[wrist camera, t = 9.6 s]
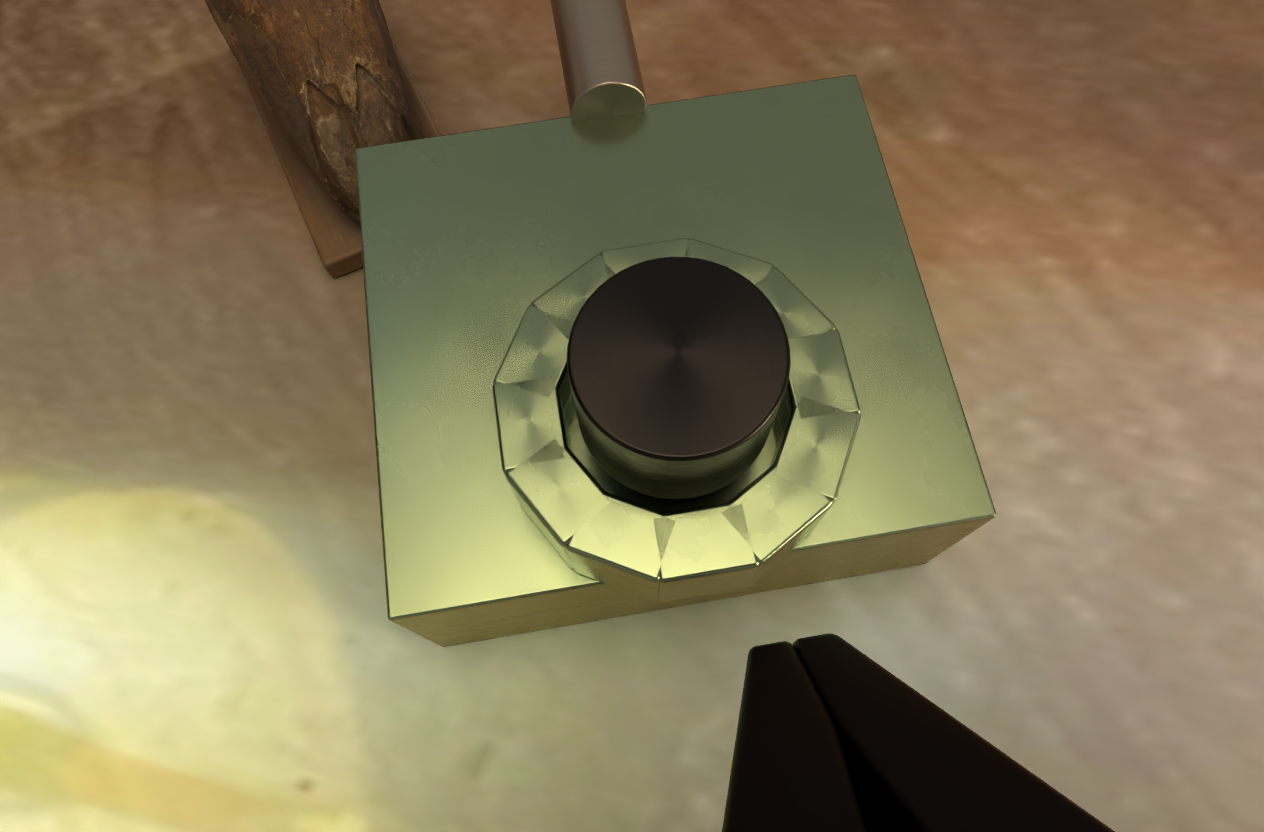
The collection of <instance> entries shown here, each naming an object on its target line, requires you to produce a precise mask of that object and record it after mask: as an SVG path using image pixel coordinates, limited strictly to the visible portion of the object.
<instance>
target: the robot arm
mask: <svg viewBox="0 0 1264 832" xmlns="http://www.w3.org/2000/svg"><path fill="white" fill-rule="evenodd" d="M722 832H1115V831H1113V830H1112V829H1111V828H1109V827H1108V826H1106V825H1105V824H1103V823H1102V822H1101V821H1099V820H1098V819H1096V818H1095V817H1094V816H1092V815H1091V814H1089V813H1088V812H1086V811H1085V810H1084V809H1082V808H1081V807H1079V806H1078V805H1077V804H1075V803H1074V802H1072V801H1071V800H1069V799H1068V798H1067V797H1065V796H1064V795H1062V794H1061V793H1060V792H1058V791H1057V790H1055V789H1054V788H1053V787H1051V786H1050V785H1048V784H1047V783H1045V782H1044V781H1043V780H1041V779H1040V778H1038V777H1037V776H1036V775H1034V774H1033V773H1031V772H1030V771H1028V770H1027V769H1026V768H1024V767H1023V766H1021V765H1020V764H1019V763H1017V762H1016V761H1014V760H1013V759H1011V758H1010V757H1009V756H1007V755H1006V754H1004V753H1003V752H1002V751H1000V750H999V749H997V748H996V747H995V746H993V745H992V744H990V743H989V742H987V741H986V740H985V739H983V738H982V737H980V736H979V735H978V734H976V733H975V732H973V731H972V730H970V729H969V728H968V727H966V726H965V725H963V724H962V723H961V722H959V721H958V720H956V719H955V718H954V717H952V716H951V715H949V714H948V713H946V712H945V711H944V710H942V709H941V708H939V707H938V706H937V705H935V704H934V703H932V702H931V701H929V700H928V699H927V698H925V697H924V696H922V695H921V694H920V693H918V692H917V691H915V690H914V689H912V688H911V687H910V686H908V685H907V684H905V683H904V682H903V681H901V680H900V679H898V678H897V677H896V676H894V675H893V674H891V673H890V672H888V671H887V670H886V669H884V668H883V667H881V666H880V665H879V664H877V663H876V662H874V661H873V660H871V659H870V658H869V657H867V656H866V655H864V654H863V653H862V652H860V651H859V650H857V649H856V648H854V647H853V646H852V645H850V644H849V643H847V642H846V641H845V640H843V639H842V638H840V637H839V636H837V635H834V634H823V635H817V636H811V637H806V638H800V639H797V640H796V641H795V642H794V643H793V645H792V644H791V643H789V642H786V641H783V642H777V643H771V644H766V645H760V646H755V647H753V648H752V649H750V651H749V654H748V661H747V667H746V674H745V681H744V688H743V694H742V701H741V708H740V714H739V721H738V728H737V734H736V741H735V748H734V755H733V761H732V768H731V775H730V781H729V788H728V795H727V801H726V808H725V815H724V822H723V828H722Z"/></svg>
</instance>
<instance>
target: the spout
mask: <svg viewBox="0 0 1264 832" xmlns="http://www.w3.org/2000/svg"><path fill="white" fill-rule="evenodd" d="M551 6H552V11H553V17H554V23H555V29H556V34H557V40H558V46H559V51H560V57H561V63H562V68H563V74H564V80H565V85H566V91H567V97H568V103H569V108H570V114H571V118H572V120H573V121H574V122H576V121H583V120H590V119H596V118H603V117H610V116H617V115H623V114H630V113H637V112H644V111H645V110H646V107H647V100H646V95H645V91H644V86H643V81H642V77H641V72H640V67H639V63H638V58H637V53H636V49H635V44H634V39H633V35H632V30H631V25H630V20H629V16H628V11H627V6H626V2H625V0H551Z"/></svg>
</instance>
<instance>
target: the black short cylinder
mask: <svg viewBox="0 0 1264 832" xmlns="http://www.w3.org/2000/svg"><path fill="white" fill-rule="evenodd" d="M790 365H791V359H790V346H789V341H788V336H787V333H786V330H785V327H784V324H783V322H782V320H781V318H780V316H779V314H778V312H777V311H776V309H775V308H774V306H773V305H772V303H771V302H770V300H769V299H768V298H767V297H766V296H765V295H764V293H763V292H762V291H761V290H760V289H759V288H758V287H757V286H755V285H754V284H753V283H752V282H751V281H750V280H748V279H747V278H745V277H744V276H742V275H741V274H739V273H738V272H736V271H734V270H732V269H730V268H728V267H726V266H723V265H720V264H718V263H715V262H712V261H708V260H704V259H699V258H692V257H663V258H656V259H652V260H647V261H643V262H641V263H638V264H635V265H632V266H630V267H628V268H626V269H624V270H622V271H620V272H618V273H617V274H615V275H613V276H612V277H610V278H609V279H608V280H606V281H605V282H604V283H603V284H602V285H600V286H599V287H598V288H597V289H596V290H595V291H594V292H593V293H592V294H591V295H590V297H589V298H588V299H587V300H586V302H585V303H584V305H583V306H582V308H581V309H580V311H579V313H578V315H577V317H576V319H575V321H574V323H573V326H572V329H571V332H570V336H569V341H568V345H567V370H568V376H569V381H570V386H571V390H572V395H573V400H574V404H575V409H576V414H577V419H578V423H579V427H580V432H581V434H582V437H583V440H584V442H585V444H586V446H587V448H588V450H589V452H590V454H591V455H592V456H593V458H594V459H595V460H596V462H597V463H598V464H599V465H600V466H601V467H602V468H603V469H604V471H605V472H606V473H607V474H609V475H610V476H611V477H613V478H614V479H615V480H616V481H618V482H619V483H621V484H623V485H625V486H626V487H628V488H630V489H632V490H635V491H637V492H639V493H642V494H646V495H649V496H653V497H658V498H665V499H685V498H694V497H698V496H702V495H706V494H709V493H712V492H714V491H717V490H719V489H721V488H723V487H725V486H727V485H729V484H730V483H732V482H733V481H735V480H736V479H737V478H739V477H740V476H741V475H742V474H743V473H744V472H745V471H746V470H747V469H749V468H750V466H751V465H752V464H753V463H754V461H755V460H756V459H757V457H758V456H759V454H760V452H761V451H762V449H763V447H764V445H765V443H766V440H767V438H768V435H769V433H770V430H771V428H772V425H773V422H774V420H775V417H776V415H777V412H778V409H779V407H780V404H781V402H782V399H783V396H784V394H785V391H786V388H787V384H788V380H789V375H790Z"/></svg>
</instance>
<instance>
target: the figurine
mask: <svg viewBox="0 0 1264 832" xmlns="http://www.w3.org/2000/svg"><path fill="white" fill-rule="evenodd" d="M205 2H206V4H207V6H208V8H209V10H210V12H211V14H212V16H213V18H214V20H215V22H216V24H217V26H218V27H219V29H220V31H221V33H222V34H223V36H224V38H225V40H226V42H227V43H228V45H229V47H230V49H231V50H232V52H233V54H234V56H235V58H236V59H237V61H238V62H239V65H240V67H241V69H242V72H243V74H244V77H245V79H246V82H247V84H248V86H249V89H250V91H251V93H252V96H253V98H254V101H255V103H256V105H257V108H258V110H259V112H260V115H261V117H262V120H263V122H264V124H265V127H266V129H267V132H268V134H269V137H270V139H271V141H272V144H273V146H274V148H275V151H276V153H277V155H278V158H279V160H280V163H281V165H282V167H283V170H284V172H285V174H286V177H287V179H288V182H289V184H290V186H291V189H292V191H293V193H294V196H295V198H296V200H297V203H298V205H299V208H300V210H301V212H302V215H303V217H304V220H305V222H306V224H307V226H308V229H309V231H310V234H311V236H312V239H313V241H314V243H315V246H316V248H317V250H318V253H319V255H320V258H321V260H322V263H323V265H324V267H325V268H326V269H327V271H328V272H329V273H330V275H331V276H332V277H338V276H340V275H343V274H346V273H349V272H351V271H354V270H356V269H359V268H361V267H363V257H362V242H361V228H360V214H359V200H358V185H357V171H356V157H355V150H356V149H357V148H361V147H368V146H375V145H381V144H388V143H395V142H402V141H409V140H415V139H422V138H429V137H436V136H439V134H438V132H437V130H436V128H435V126H434V124H433V122H432V120H431V118H430V116H429V114H428V112H427V110H426V108H425V106H424V104H423V102H422V100H421V98H420V96H419V94H418V92H417V90H416V88H415V86H414V84H413V82H412V80H411V78H410V76H409V74H408V72H407V70H406V68H405V66H404V64H403V62H402V60H401V58H400V56H399V54H398V52H397V50H396V48H395V46H394V44H393V42H392V40H391V38H390V34H389V31H388V27H387V24H386V21H385V17H384V14H383V12H382V9H381V6H380V3H379V0H205Z"/></svg>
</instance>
